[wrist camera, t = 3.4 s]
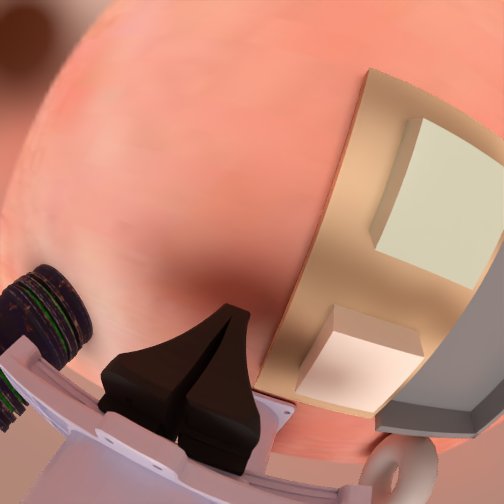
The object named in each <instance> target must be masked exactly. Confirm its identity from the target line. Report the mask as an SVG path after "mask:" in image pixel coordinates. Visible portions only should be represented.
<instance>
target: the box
mask: <svg viewBox="0 0 504 504" xmlns="http://www.w3.org/2000/svg"><path fill="white" fill-rule="evenodd" d="M503 414H504V240H503V242H502V244H501V247H500V249H499V251H498V253H497V255H496V257H495V259H494V261H493V263H492V264H491V266H490V268H489V270H488V272H487V274H486V276H485V277H484V279H483V281H482V283H481V284H480V286H479V288H478V289H477V291H476V293H475V294H474V296H473V298H472V299H471V301H470V302H469V304H468V306H467V307H466V309H465V310H464V312H463V313H462V315H461V316H460V318H459V319H458V321H457V322H456V323H455V325H454V326H453V328H452V329H451V330H450V332H449V333H448V334H447V336H446V337H445V338H444V340H443V341H442V342H441V344H440V345H439V346H438V348H437V349H436V350H435V351H434V353H433V354H432V355H431V356H430V358H429V359H428V360H427V361H426V362H425V364H424V365H423V366H422V367H421V368H420V369H419V371H418V372H417V373H416V374H415V375H414V376H413V377H412V378H411V379H410V381H409V382H408V383H407V384H406V385H405V386H404V387H403V388H402V389H401V390H400V391H399V392H398V393H397V394H396V395H395V396H394V397H393V398H392V399H391V400H390V401H389V402H388V403H387V404H386V405H385V406H384V407H383V408H382V409H381V410H380V411H379V412H378V413H377V414H376V415H375V431H380V432H387V433H394V434H402V435H412V436H423V437H437V438H475V437H477V436H478V435H479V434H481V433H482V432H483V431H484V430H485V429H487V428H488V427H489V426H490V425H491V424H493V423H494V422H495V421H496V420H497V419H498V418H500V417H501V416H502V415H503Z"/></svg>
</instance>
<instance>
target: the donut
mask: <svg viewBox="0 0 504 504" xmlns="http://www.w3.org/2000/svg"><path fill="white" fill-rule="evenodd" d="M398 466H399V475H398V480H397V483H396V486H395V488H394V490H393V491H392V493H391V483H392V478H393V475H394V473H395V471H396V469H397V467H398ZM437 475H438V456H437V452H436V448H435V445H434V444H433V442H432V441H431V440H430V438H429V437H423V436H412V435H402V434H394V433H393V434H391V435H389V436H387V437H386V438H385V439H384V440H382V441H381V442H380V443H379V444H378V445H377V446H376V447H375V449H374V450H373V452H372V453H371V454H370V456H369V457H368V460H367V462H366V464H365V466H364V468H363V470H362V473H361V476H360V479H359V484H358V485H365V486H372V497H371V504H425V503H426V501H427V499H428V498H429V496H430V494H431V493H432V491H433V488H434V485H435V481H436V478H437Z"/></svg>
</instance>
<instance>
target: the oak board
mask: <svg viewBox="0 0 504 504" xmlns="http://www.w3.org/2000/svg"><path fill="white" fill-rule="evenodd" d="M417 118H425V119H427V120H429V121H431V122H432V123H434V124H436V125H438V126H440V127H442V128H444V129H445V130H447V131H449V132H451V133H453V134H454V135H456V136H458V137H459V138H461V139H463V140H464V141H466V142H468V143H469V144H471V145H472V146H474V147H476V148H477V149H479V150H480V151H482V152H483V153H485V154H486V155H488V156H489V157H491V158H492V159H493V160H495V161H496V162H498V163H499V164H500V165H502V166H503V167H504V140H503V139H502V138H500V137H499V136H498V135H496V134H495V133H493V132H492V131H491V130H489V129H488V128H486V127H485V126H483V125H482V124H481V123H479V122H477V121H476V120H474V119H473V118H471V117H470V116H468V115H467V114H465V113H463V112H462V111H460V110H458V109H457V108H455V107H453V106H452V105H450V104H448V103H446V102H444V101H443V100H441V99H439V98H437V97H435V96H433V95H431V94H429V93H427V92H425V91H423V90H421V89H419V88H417V87H415V86H413V85H411V84H409V83H407V82H404V81H402V80H400V79H397V78H395V77H393V76H390V75H388V74H385V73H383V72H380V71H378V70H375V69H372V68H369V70H368V71H367V73H366V75H365V76H364V79H363V83H362V87H361V90H360V94H359V98H358V101H357V105H356V108H355V112H354V115H353V119H352V122H351V126H350V129H349V132H348V136H347V139H346V142H345V145H344V149H343V152H342V155H341V158H340V161H339V165H338V168H337V171H336V174H335V177H334V180H333V183H332V186H331V189H330V192H329V195H328V198H327V201H326V204H325V206H324V209H323V212H322V215H321V218H320V221H319V224H318V226H317V229H316V232H315V235H314V237H313V240H312V243H311V246H310V248H309V251H308V254H307V256H306V259H305V262H304V264H303V267H302V269H301V272H300V275H299V277H298V280H297V282H296V285H295V287H294V290H293V292H292V295H291V297H290V300H289V302H288V305H287V307H286V310H285V312H284V315H283V317H282V319H281V322H280V324H279V327H278V329H277V331H276V334H275V336H274V338H273V341H272V343H271V345H270V348H269V350H268V352H267V355H266V357H265V359H264V361H263V364H262V366H261V368H260V371H259V374H258V377H257V380H256V383H255V386H254V388H256V389H259V390H262V391H265V392H268V393H271V394H274V395H278V396H281V397H284V398H287V399H291V400H294V401H297V402H301V403H304V404H308V405H312V406H315V407H319V408H323V409H327V410H331V411H335V412H340V413H344V414H349V415H353V416H358V417H363V418H368V419H371V418H372V417H374V416H375V415H376V414H377V413H378V412H379V411H380V410H381V409H382V408H383V407H384V406H385V405H386V404H387V403H388V402H389V401H390V400H391V399H392V398H393V397H394V396H395V395H396V394H397V393H398V392H399V391H400V390H401V389H402V388H403V387H404V386H405V385H406V384H407V383H408V382H409V381H410V379H411V378H412V377H413V376H414V375H415V374H416V373H417V372H418V371H419V369H420V368H421V367H422V366H423V365H424V364H425V362H426V361H427V360H428V359H429V358H430V356H431V355H432V354H433V353H434V351H435V350H436V349H437V348H438V346H439V345H440V344H441V342H442V341H443V340H444V338H445V337H446V336H447V334H448V333H449V332H450V330H451V329H452V328H453V326H454V325H455V323H456V322H457V321H458V319H459V318H460V316H461V315H462V313H463V312H464V310H465V309H466V307H467V306H468V304H469V302H470V301H471V299H472V298H473V296H474V294H475V293H476V291H477V289H478V288H479V286H480V284H481V283H482V281H483V279H484V277H485V276H486V274H487V272H488V270H489V268H490V266H491V264H492V263H493V261H494V259H495V257H496V255H497V253H498V251H499V249H500V247H501V244H502V242H503V240H504V230H503V232H502V234H501V237H500V239H499V241H498V243H497V245H496V247H495V249H494V251H493V253H492V255H491V257H490V259H489V261H488V263H487V265H486V267H485V269H484V271H483V273H482V274H481V276H480V278H479V280H478V281H477V283H476V285H475V287H474V288H473V290H471V289H469V288H467V287H464V286H462V285H460V284H457V283H455V282H453V281H451V280H448V279H446V278H443V277H441V276H439V275H436V274H434V273H432V272H429V271H427V270H424V269H422V268H419V267H417V266H414V265H412V264H410V263H407V262H405V261H402V260H399V259H397V258H394V257H392V256H389V255H387V254H384V253H382V252H379V251H376V250H375V249H374V246H373V242H372V239H371V236H370V233H369V229H370V226H371V224H372V221H373V219H374V216H375V214H376V211H377V209H378V206H379V204H380V201H381V198H382V196H383V193H384V190H385V188H386V185H387V182H388V179H389V177H390V174H391V171H392V168H393V165H394V162H395V159H396V156H397V153H398V150H399V147H400V144H401V141H402V137H403V134H404V131H405V127H406V124H407V121H408V119H417ZM334 304H336V305H339V306H342V307H345V308H348V309H351V310H354V311H357V312H360V313H363V314H366V315H369V316H372V317H375V318H378V319H381V320H384V321H387V322H390V323H393V324H397V325H400V326H403V327H406V328H409V329H412V330H415V331H418V334H419V338H420V341H421V345H422V349H423V352H424V356H425V358H424V359H423V360H422V362H421V363H420V364H419V365H418V366H417V368H416V369H415V370H414V371H413V372H412V373H411V374H410V376H409V377H408V378H407V379H406V380H405V381H404V382H403V383H402V384H401V385H400V387H399V388H398V389H397V390H396V391H395V392H394V393H393V394H392V395H391V396H390V397H389V398H388V399H387V400H386V401H385V402H384V403H383V404H382V405H381V406H380V407H379V408H378V409H377V410H376V411H375V412H374V413H372V412H367V411H362V410H358V409H353V408H349V407H344V406H340V405H336V404H332V403H328V402H324V401H320V400H317V399H313V398H309V397H306V396H302V395H299V394H296V393H295V388H296V384H297V379H298V374H299V369H300V366H301V364H302V363H303V361H304V359H305V358H306V356H307V354H308V352H309V351H310V349H311V347H312V345H313V344H314V342H315V340H316V338H317V336H318V335H319V333H320V331H321V329H322V327H323V325H324V323H325V322H326V320H327V318H328V316H329V314H330V312H331V310H332V308H333V306H334Z"/></svg>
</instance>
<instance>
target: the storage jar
mask: <svg viewBox="0 0 504 504" xmlns="http://www.w3.org/2000/svg"><path fill="white" fill-rule="evenodd" d="M92 332H93V330H92V324H91V320H90V317H89V315H88V312H87V310H86V308H85V306H84V304H83V302H82V300H81V299H80V297H79V295H78V294H77V293H76V291H75V290H74V288H73V287H72V286H71V284H70V283H69V282H68V281H67V280H66V278H65V277H64V276H63V275H62V274H61V273H60V272H58V271H57V270H56V269H54V268H53V267H51V266H49V265H45V264H43V265H40V266H38V267H37V268H35V270H34V271H33V272H29V273H28V274H26V275H24V276H21V277H20V278H18V279H17V280H16V281H14V283H13V284H11V285H9V286H8V287H7V288H6V289H4V290H3V292H2V295H1V296H0V356H1V355H2V354H3V353H4V352H5V351H6V350H7V349H8V348H10V347H11V346H12V345H13V344H14V343H15V342H16V341H17V340H18V339H19V338H21V337H22V336H23V335H25V336H26V337H27V338H28V339H29V340H30V341H31V342H32V343H33V344H34V345H35V346H36V347H37V348H38V350H39V352H40V354H41V357H42V358H43V359H44V360H46V361H47V362H48V363H49V364H50V365H52V366H53V367H54V368H55V369H57V370H58V371H60V370H61V369H62V368H63V367H64V366H65V365H66V364H67V362H70V361H71V360H72V359H73V358H74V357H75V356H76V355H77V352H78V351H79V350H80V349H81V348H82V345H83V344H85V343H87V342H88V341H89V340H90V339H91V337H92ZM22 403H23V404H24V405H26V406H28V405H29V403H28V402H27V401H26V400H25V399H24V398H23V397H22V396H21V395H20V394H19V393H18V391H17V390H16V389H15V388H14V387H13V386H12V384H11V383H10V381H9V380H8V378H7V377H6V375H5V374H4V372H3V371H2V369H1V367H0V429H1V430H2V431H3V432H4V433H5V432H6V431H7V430H8V428H9V425H10V424H11V422H12V423H13V422H14V421H15V420H16V419H17V418H16V417H15V416H14V414H13V412H14V411H15V412H16V413H17V414H18V415H19V416H21V414H23V412H24V411H25V410H26V409H25V407H24V406H23V404H22Z"/></svg>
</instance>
